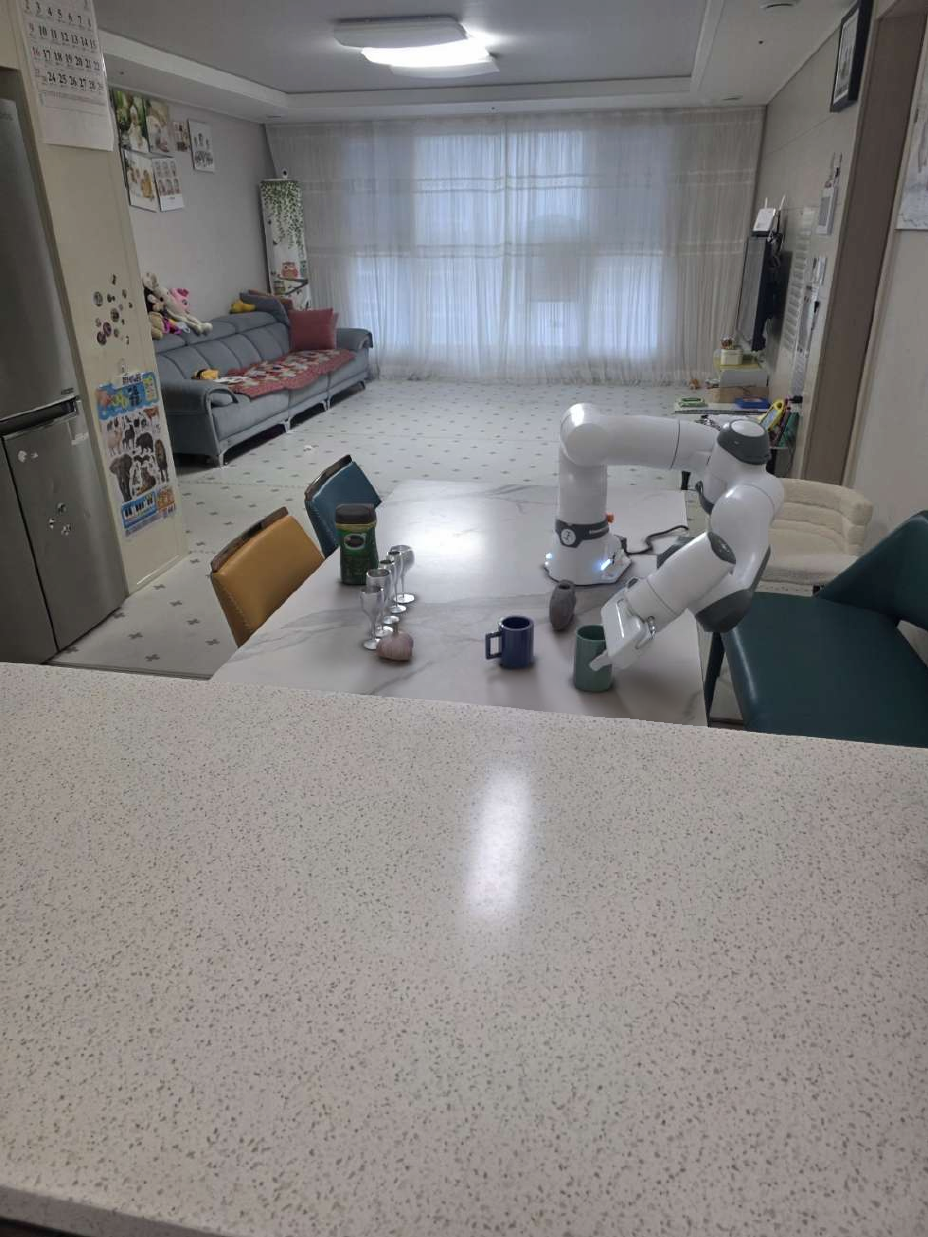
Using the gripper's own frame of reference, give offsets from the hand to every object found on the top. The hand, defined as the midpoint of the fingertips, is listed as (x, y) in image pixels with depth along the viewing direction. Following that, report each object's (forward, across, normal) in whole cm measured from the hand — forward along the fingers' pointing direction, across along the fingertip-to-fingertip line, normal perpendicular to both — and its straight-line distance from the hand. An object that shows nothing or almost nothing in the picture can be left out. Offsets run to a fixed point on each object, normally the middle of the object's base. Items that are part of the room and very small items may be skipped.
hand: (590, 655), depth 147 cm
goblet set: (+33, +25, +25) cm, 48 cm away
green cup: (+3, 0, -4) cm, 5 cm away
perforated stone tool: (+7, +26, -1) cm, 27 cm away
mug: (+14, +7, +7) cm, 17 cm away
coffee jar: (+40, +47, +32) cm, 70 cm away
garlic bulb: (+30, +8, +22) cm, 38 cm away
